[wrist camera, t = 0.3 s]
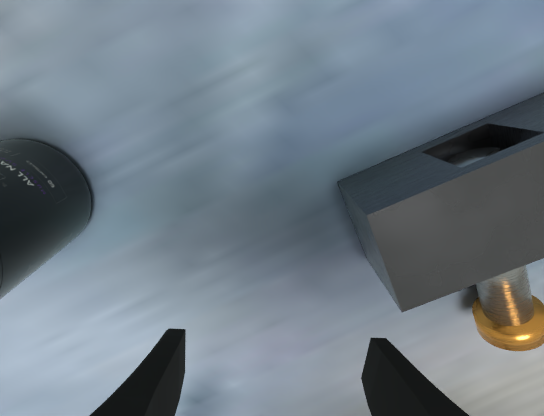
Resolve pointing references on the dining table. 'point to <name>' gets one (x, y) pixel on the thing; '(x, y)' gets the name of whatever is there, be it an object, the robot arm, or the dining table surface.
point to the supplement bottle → (37, 207)
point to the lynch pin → (505, 295)
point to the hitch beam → (454, 208)
